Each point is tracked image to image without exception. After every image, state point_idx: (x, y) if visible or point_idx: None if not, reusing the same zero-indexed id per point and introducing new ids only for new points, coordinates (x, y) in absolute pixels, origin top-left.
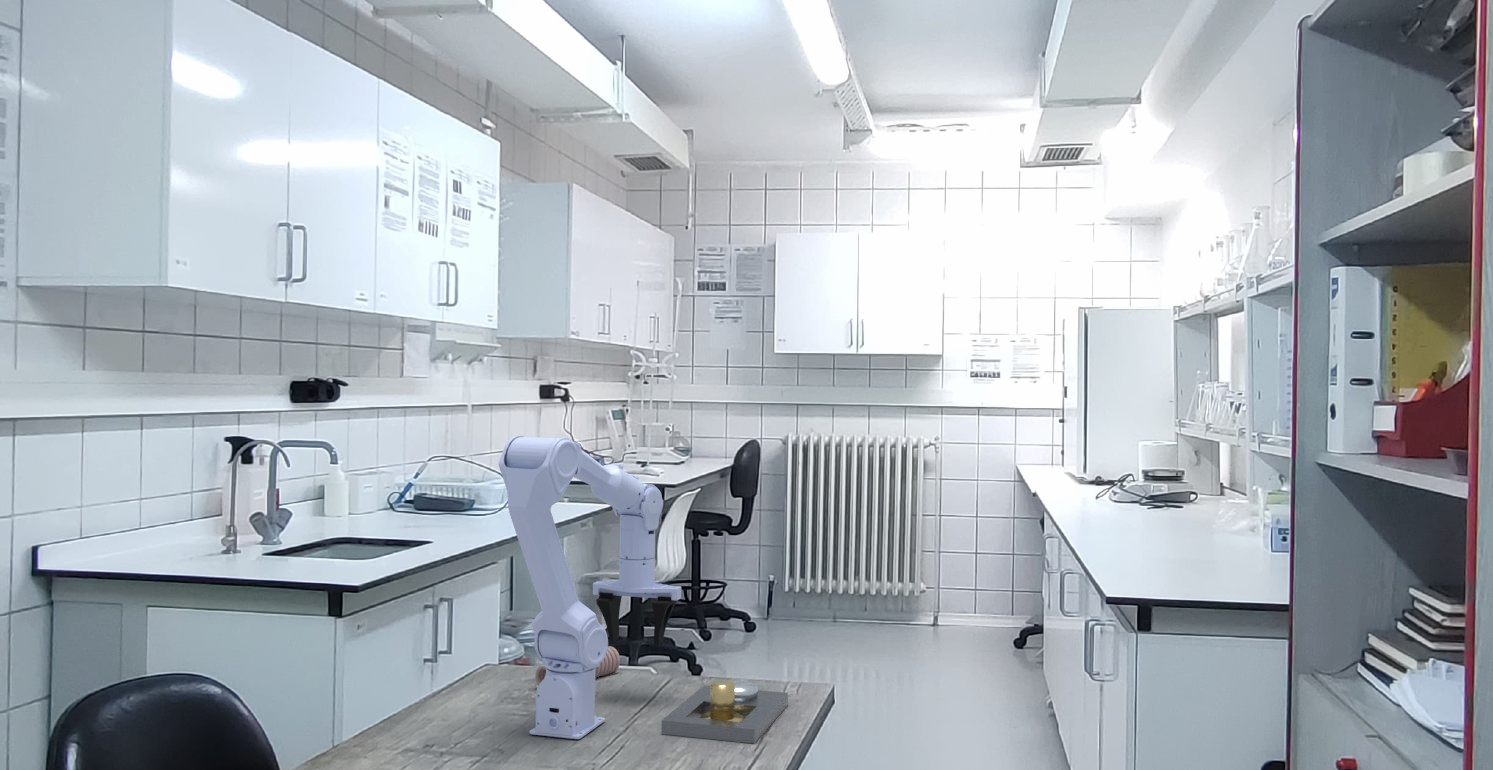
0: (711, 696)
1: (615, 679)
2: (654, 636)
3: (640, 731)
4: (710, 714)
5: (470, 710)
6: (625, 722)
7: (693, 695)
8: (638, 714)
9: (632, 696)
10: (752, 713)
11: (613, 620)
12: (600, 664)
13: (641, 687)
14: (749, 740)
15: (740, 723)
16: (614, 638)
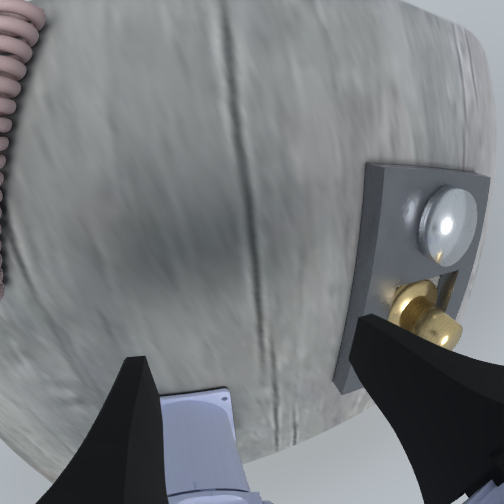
0: None
1: (63, 79)
2: (367, 387)
3: (300, 387)
4: (402, 327)
5: (9, 400)
6: (261, 372)
7: (376, 261)
8: (266, 331)
9: (189, 217)
10: (450, 304)
11: (157, 478)
12: (5, 100)
13: (172, 119)
14: None
15: None
16: (157, 399)
